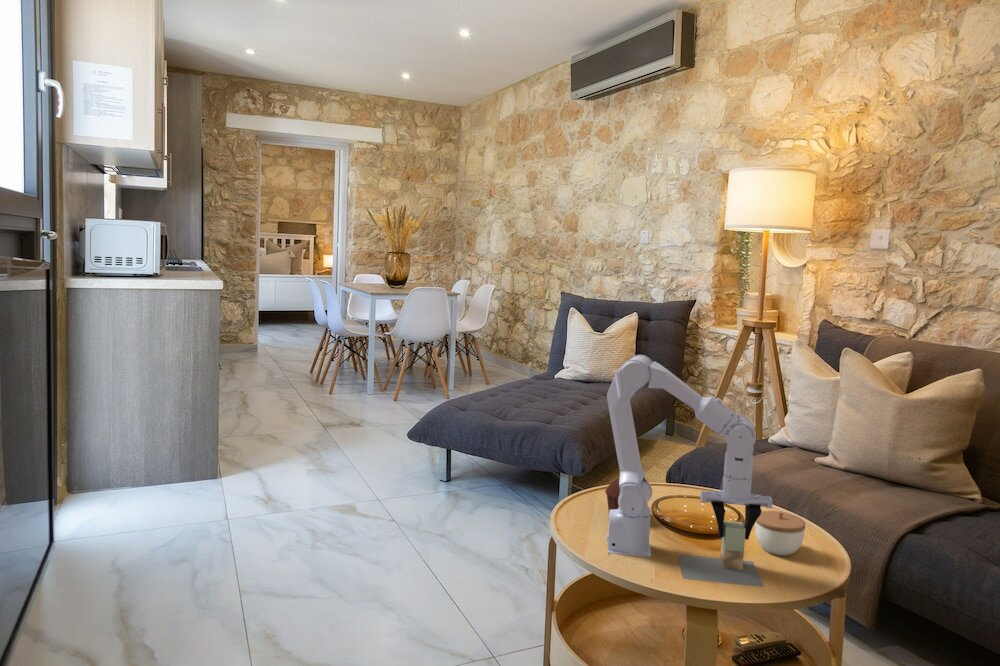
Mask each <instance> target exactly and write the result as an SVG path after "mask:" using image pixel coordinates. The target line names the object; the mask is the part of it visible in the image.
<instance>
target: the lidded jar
mask: <svg viewBox="0 0 1000 666" xmlns="http://www.w3.org/2000/svg"><path fill="white" fill-rule="evenodd" d="M805 529H806V522H805V520H804V519H802V518H801V517H799V516H797V515H795V514H792V513H790V512H789V513H788V512H784V511H780V510H779V511H777V510H763V511H761V515H760V516H759V517H758V519H757V520H756V522H755V524H754V533H755V538H756V540H757V542H758V545H759V546H761V548H762V549H763V550H764V551H765V552H767V553H769V554H772V555H776V556H780V557H781V556H783V557H784V556H790V555H792V554H794V553H795V552H797V551H798V550H799V548H800V547H801V546H802V543H803V540H804V538H805Z"/></svg>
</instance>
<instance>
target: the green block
mask: <svg viewBox="0 0 1000 666" xmlns="http://www.w3.org/2000/svg"><path fill="white" fill-rule="evenodd" d="M745 531H746V529H745V527H744V522H742V521H741V522H739V521H732V520H731V521H730V520H729V521H728V520H724V533H723V537H721V544H722V545H723V547H724V550H729V551H740V552H744V553H745V546H746V545H745V543H746V539H745Z"/></svg>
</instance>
